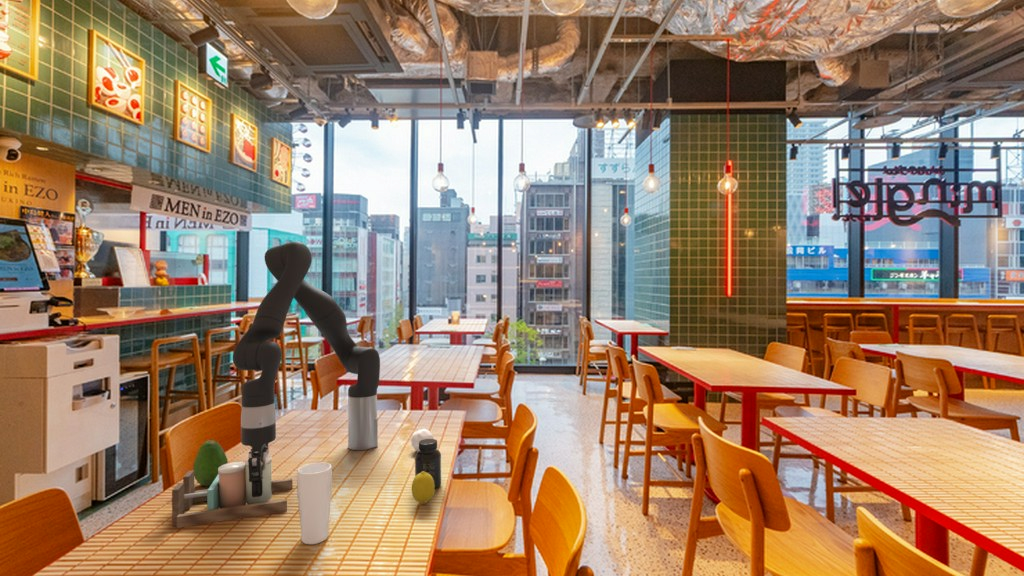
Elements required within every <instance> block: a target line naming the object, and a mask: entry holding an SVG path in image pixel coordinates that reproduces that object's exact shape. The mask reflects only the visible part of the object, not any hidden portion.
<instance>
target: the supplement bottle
mask: <svg viewBox="0 0 1024 576" xmlns="http://www.w3.org/2000/svg"><path fill="white" fill-rule="evenodd" d="M422 471H424V472H426V473H428V474H430V475H431V476H432V478H433V480H434V485H435V490H434V491H436V490H438V489H439V488H440V487H441V485H442V453H441V452H440V450H438V440H437V439H434V438H433V439H423V440H421V441H419V451H417V452H416V454H415V455H414V472H415V473H414V477H415V476H416V475H417V474H419V473H421V472H422Z"/></svg>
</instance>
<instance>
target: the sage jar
mask: <svg viewBox="0 0 1024 576" xmlns="http://www.w3.org/2000/svg"><path fill="white" fill-rule="evenodd" d="M248 460H249V458H247V459H245V460H244V462H245V475H246V505H249V504H256V503H263V502H269V501H270V500H271V499H272V495H273V494H272V488H271V481H272V460H273V457H272V456H271V455H269V454H268V456H267V457H266V461H265V465H266V468H265V470H263V494H262V496H259V497H252V482H249V463H248ZM262 465H263V462H261V466H262ZM254 476H259V474H258V472H256V473H254Z"/></svg>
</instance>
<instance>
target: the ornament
mask: <svg viewBox="0 0 1024 576" xmlns="http://www.w3.org/2000/svg"><path fill="white" fill-rule="evenodd" d="M423 439H434V435H433V434H432V433H431V431H430V430H429V429H426V428H422V429H421V428H420V427H418V428H417V430H416V431H415V432H413V434H412V436H411V438H410V442H411V446H412V447H413V449H414V450H415V451H417V452H418V451H419V441H421V440H423Z"/></svg>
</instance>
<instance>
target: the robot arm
mask: <svg viewBox="0 0 1024 576" xmlns="http://www.w3.org/2000/svg"><path fill="white" fill-rule="evenodd" d="M312 257H313V256H312V253H311V250H310V249H309V246H308V245H307V244H305V243H304V242H302V241H296V240H295V241H290V242H286V243H283V244H281V245H277V246H272V247H271V248H268V249H267V250H266V252H265V253H264V263H265V266H266V268H267V269H268V271H269V273H270V274H271V275H272V276H273V277H274V278H275V280H277V281H276V283H275V284H274V286H273V287H272V288H271V289H270V290H269V291H268V293H267V294H266V295H265V296H264V297H263V299H262V300H261V302H260V304H259V306H258V309H257V311H256V314H255V317H254V318H253V320H252V321H253V322H252V324H251V325H250V327H249V328H248V329H247V331H246V332H245V333H244V334H243V336H242V337H241V339H239V341H238V343H237V344H236V345H235V347H234V349H233V353H232V362H233V366H235V368H236V369H238V370H240V371H261V373H260V376H259V378H255V379H250V380H247V381H245V382H244V383H243V384H242V386H241V411H240V438H241V439H240V442H241V444H242V445H243V446H244V447H245V446H246V447H248V446H249V447H251V448H250V451H249V452H248V458H247V459H249V460H248V463H249V482H252V497H259V496H262V494H263V470H265V468H266V465H265V461H266V457H267V456H268V455H269V452H270V447H269V445H270V443H272V442H274V441H275V440H276V437H277V432H276V431H277V430H276V429H277V427H276V423H277V421H276V419H277V418H276V417H277V415H276V407H275V406H276V405H275V386H276V385H275V384H276V381H277V375H278V371H279V368H280V365H281V362H282V357H283V355H282V354H283V352H282V348H281V347H280V345H279V344H278V343H277V342H276V341H271V340H275V339H277V338H279V337H280V336H281V334H282V331H283V329H284V326H285V322H286V319H287V315H288V313H289V309H290V307H291V304H292V302H293V300H295V301H296V302H297V304H298V305H299V306H300V308H301V309H302V310H303V311H304V312H305V314H306V315H307V316H308V319H310V321H311V322H312V323H313V325H314V326H315V327H316V329H317V330H318V331H319V333H320V334H321V336H323V337H324V339H325V340H326V342H327V343H328V344H329V345H330V347H331V348H332V350H333V352H335V354H336V356H337V358H338V360H339V361H340V363H341V365H342V366H343V368H344V369H345V370H346V372H348V373H350V374H355V375H357V377H356V378H357V379H356V383H354V384H352V385H350V386H349V387H348V390H347V396H348V397H347V398H348V399H347V401H348V402H347V404H348V405H347V409H348V410H347V413H348V414H347V417H348V418H347V427H348V428H347V429H348V431H347V432H348V434H347V439H348V440H347V445H348V449H349V450H352V451H364V450H370V449H373V448H379V447H378V445H379V444H378V442H379V439H378V437H379V436H378V435H379V434H378V429H379V428H378V424H379V423H378V422H379V421H378V387H379V385H380V373H381V358H380V353H379V352H378V350H377V349H375V348H374V347H370V346H359V345H358V344H357V343H356V342H355V341H354V340H353V338H352V337H351V335H350V334H349V331H348V323H347V322H348V321H347V318H346V314H345V313H344V311H343V309H342V308H341V306H340V304H338V302H337V300H335V299H334V297H333V296H331V295H330V294H328V293H327V292H325V291H323V290H322V289H320V288H318V287H317V286H314V285H312V284H311V283H309V282H308V281H306V279H305V278H306V276H307V274H308V272H309V270H310V268H311V265H312V259H313V258H312ZM261 462H263V465H262V466H261ZM256 472H258V474H259V476H254V473H256Z"/></svg>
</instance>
